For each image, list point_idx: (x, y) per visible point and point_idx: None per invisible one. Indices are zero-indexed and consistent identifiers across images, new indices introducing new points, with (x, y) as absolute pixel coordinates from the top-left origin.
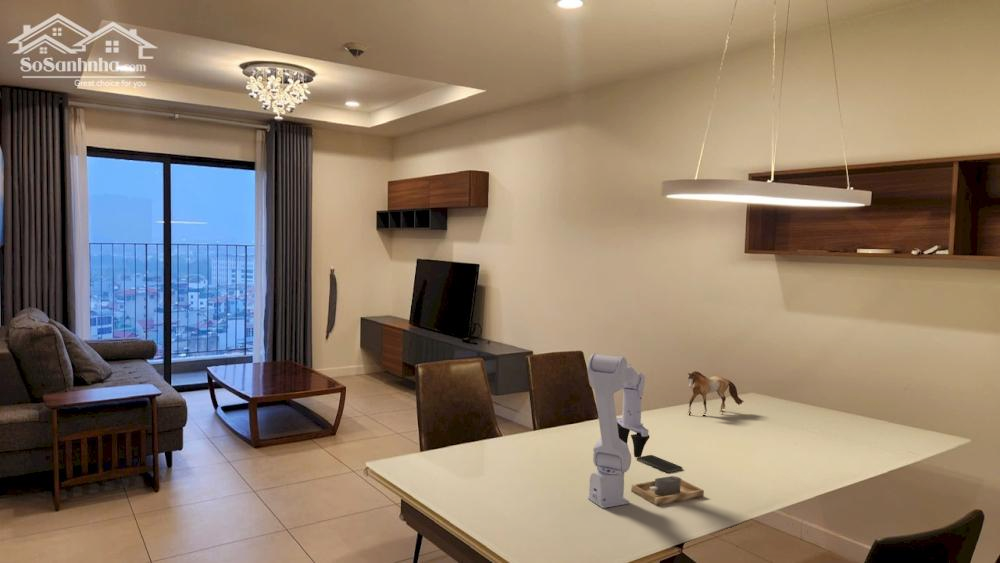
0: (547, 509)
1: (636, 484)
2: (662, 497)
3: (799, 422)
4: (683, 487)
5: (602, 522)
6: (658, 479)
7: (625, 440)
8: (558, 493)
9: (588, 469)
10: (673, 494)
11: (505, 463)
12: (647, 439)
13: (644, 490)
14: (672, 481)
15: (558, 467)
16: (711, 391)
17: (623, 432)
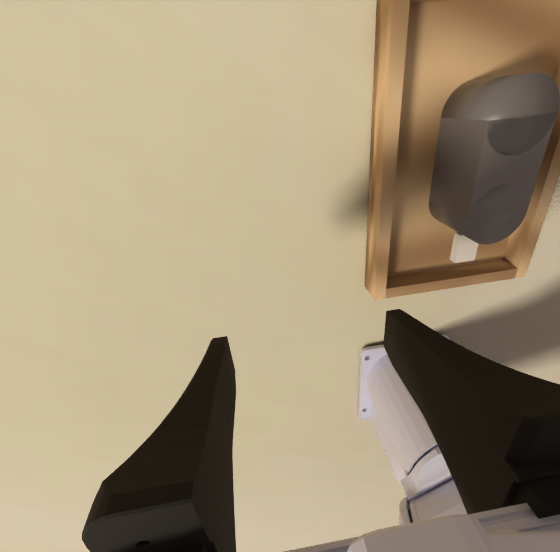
0: (374, 486)
1: (381, 280)
2: (531, 248)
3: None
4: (461, 10)
5: None
6: (479, 221)
7: (220, 394)
8: (300, 459)
9: (99, 344)
10: None
11: (41, 524)
12: (557, 392)
13: (395, 245)
14: (541, 161)
15: (75, 425)
16: None
17: (222, 490)
